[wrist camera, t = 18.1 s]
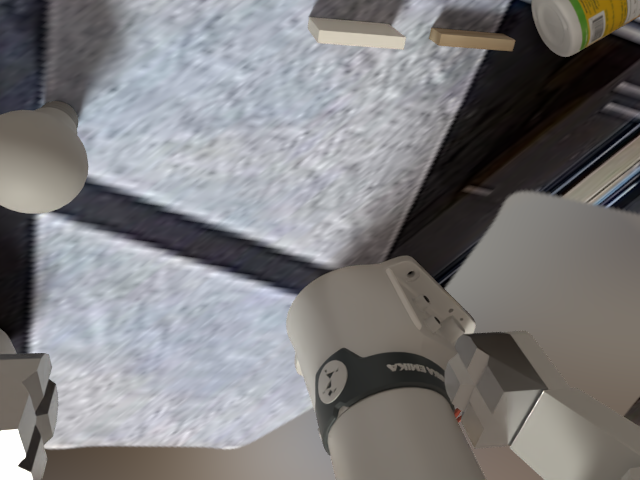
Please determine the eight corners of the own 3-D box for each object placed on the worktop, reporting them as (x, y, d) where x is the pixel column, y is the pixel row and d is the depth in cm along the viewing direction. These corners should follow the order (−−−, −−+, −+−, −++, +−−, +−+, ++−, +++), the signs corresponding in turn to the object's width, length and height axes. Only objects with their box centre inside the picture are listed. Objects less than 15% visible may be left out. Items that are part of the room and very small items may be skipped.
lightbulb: (85, 62, 35) (45, 123, 26) (120, 142, 38) (95, 219, 30) (-4, 82, 34) (-74, 150, 26) (40, 160, 38) (-9, 244, 29)
